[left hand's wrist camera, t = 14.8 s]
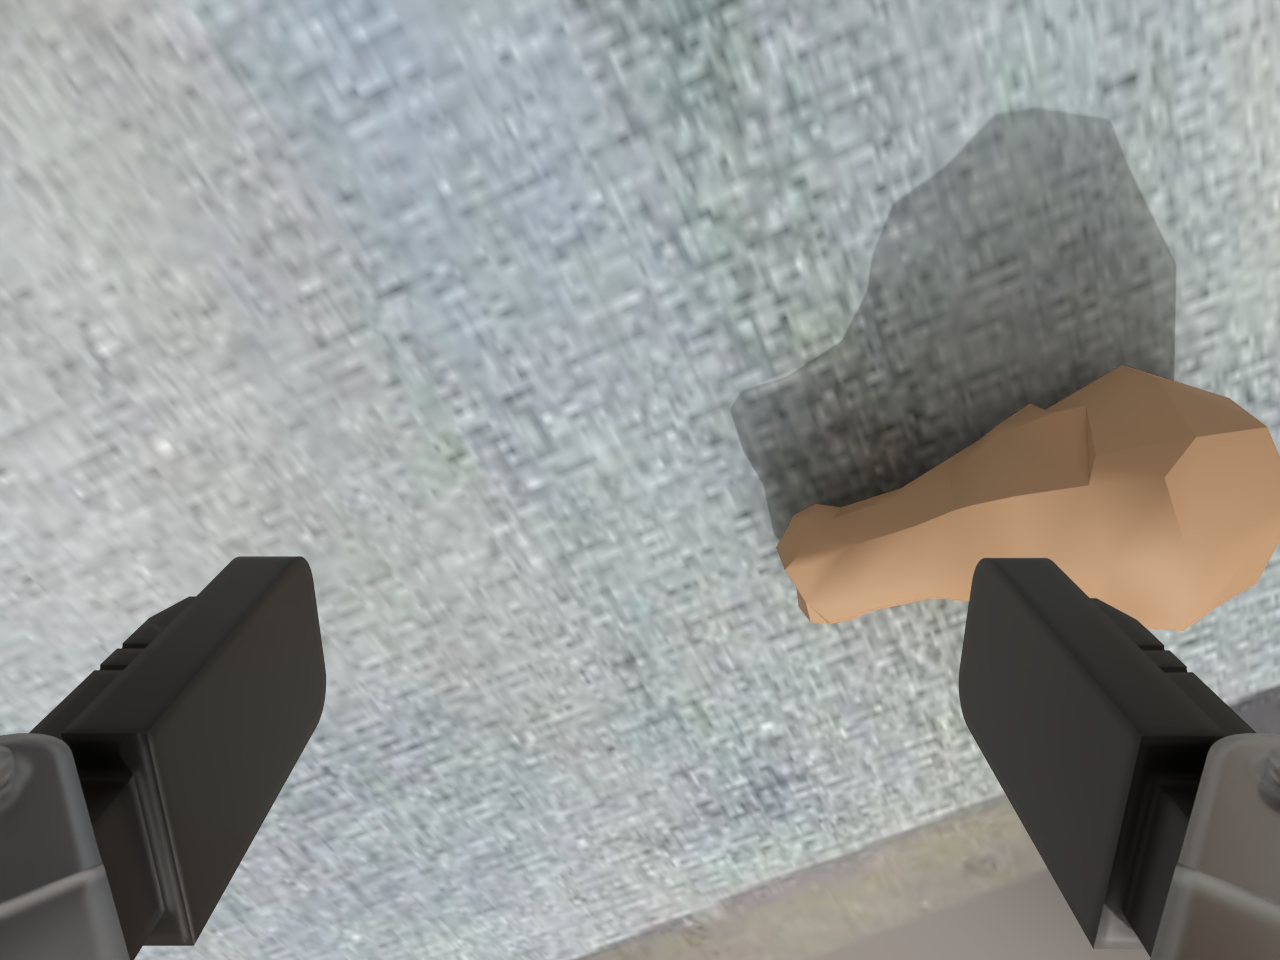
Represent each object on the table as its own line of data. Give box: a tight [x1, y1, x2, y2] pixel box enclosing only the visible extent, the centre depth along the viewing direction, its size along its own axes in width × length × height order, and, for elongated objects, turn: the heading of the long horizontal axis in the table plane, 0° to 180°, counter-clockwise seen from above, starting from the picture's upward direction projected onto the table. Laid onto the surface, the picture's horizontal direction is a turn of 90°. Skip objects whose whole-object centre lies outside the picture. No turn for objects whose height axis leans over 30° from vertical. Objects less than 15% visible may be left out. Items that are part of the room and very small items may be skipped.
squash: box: [776, 365, 1280, 631], centre depth 38 cm, size 11×20×9 cm, turn 111°
